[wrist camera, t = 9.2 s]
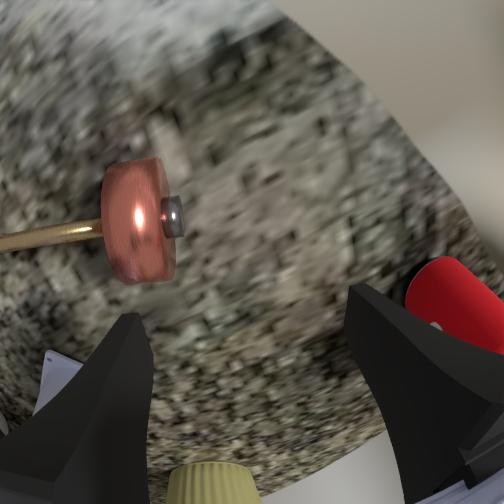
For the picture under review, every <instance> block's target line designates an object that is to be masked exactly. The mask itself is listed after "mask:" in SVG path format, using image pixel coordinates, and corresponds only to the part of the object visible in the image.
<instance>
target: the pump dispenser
mask: <svg viewBox="0 0 504 504" xmlns="http://www.w3.org/2000/svg"><path fill="white" fill-rule="evenodd" d="M8 433H9V432H8V426H7V422H6V420H5V418H4V416H3V414H2V412H1V411H0V438H2V437H4V436H5V435H7V434H8Z"/></svg>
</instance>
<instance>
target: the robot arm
mask: <svg viewBox="0 0 504 504" xmlns="http://www.w3.org/2000/svg"><path fill="white" fill-rule="evenodd" d="M343 331H344V334H345V336H346V339H347V342H348V345H349V348H350V350H351V353H352V355H353V357H354V359H355V361H356V363H357V365H358V367H359V369H360V371H361V372H362V374H363V376H364V378H365V380H366V382H367V384H368V386H369V388H370V390H371V392H372V394H373V396H374V398H375V400H376V402H377V404H378V406H379V408H380V411H381V414H382V416H383V419H384V422H385V425H386V428H387V430H388V434H389V437H390V440H391V443H392V446H393V450H394V453H395V457H396V461H397V465H398V469H399V473H400V478H401V483H402V489H403V494H404V501H405V504H504V355H503V354H499V353H496V352H492V351H489V350H486V349H483V348H480V347H478V346H475V345H472V344H470V343H467V342H465V341H463V340H460V339H458V338H456V337H454V336H452V335H450V334H448V333H445V332H443V331H441V330H440V329H438V328H436V327H434V326H432V325H430V324H429V323H427V322H425V321H424V320H422V319H420V318H418V317H417V316H415V315H414V314H412V313H410V312H409V311H407V310H406V309H404V308H403V307H401V306H400V305H398V304H397V303H395V302H393V301H392V300H390V299H389V298H387V297H386V296H384V295H383V294H381V293H380V292H378V291H377V290H375V289H374V288H372V287H371V286H369V285H367V284H365V283H364V284H358V285H351V286H349V292H348V300H347V307H346V314H345V321H344V328H343ZM152 387H153V352H152V350H151V347H150V344H149V341H148V338H147V336H146V333H145V330H144V327H143V324H142V321H141V318H140V315H139V313H127V314H122V315H121V316H120V317H119V319H118V320H117V321H116V323H115V324H114V325H113V327H112V328H111V329H110V331H109V332H108V333H107V335H106V336H105V337H104V339H103V340H102V342H101V343H100V344H99V345H98V347H97V348H96V349H95V351H94V352H93V353H92V355H91V356H90V357H89V358H88V360H87V361H86V362H85V363H84V364H82V363H80V362H77V361H75V360H73V359H70V358H68V357H66V356H64V355H61V354H59V353H57V352H55V351H53V350H47V351H46V353H45V358H44V364H43V371H42V378H41V385H40V393H39V397H38V400H37V403H36V406H35V409H34V412H33V415H32V417H31V418H29V419H28V420H27V421H25V422H24V423H23V424H21V425H20V426H19V427H17V428H16V429H14V430H13V431H11V432H10V433H8V434H7V435H5V436H4V437H2V438H0V504H150V500H149V491H148V478H147V458H146V440H147V428H148V419H149V411H150V403H151V395H152Z"/></svg>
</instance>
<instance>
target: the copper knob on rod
mask: <svg viewBox="0 0 504 504" xmlns="http://www.w3.org/2000/svg"><path fill="white" fill-rule="evenodd" d="M100 237H104V241H105V246H106V250H107V254H108V257H109V260H110V263H111V265H112V268H113V270H114V272H115V274H116V276H117V277H118V279H119V280H120V281H121V282H122V283H123V284H125V285H133V284H143V283H152V282H161V281H170V280H173V278H174V274H175V265H176V249H175V238H177V237H184V219H183V210H182V204H181V199H180V196H171V197H170V192H169V186H168V181H167V177H166V173H165V169H164V166H163V163H162V161H161V159H160V158H159V157H151V158H145V159H139V160H133V161H127V162H121V163H116V164H112V165H110V166H109V168H108V169H107V171H106V174H105V176H104V180H103V185H102V193H101V217H99V218H93V219H86V220H80V221H75V222H69V223H63V224H58V225H52V226H47V227H41V228H36V229H31V230H26V231H21V232H16V233H11V234H6V235H1V236H0V253H5V252H11V251H17V250H23V249H29V248H35V247H41V246H47V245H53V244H60V243H66V242H73V241H79V240H86V239H93V238H100Z"/></svg>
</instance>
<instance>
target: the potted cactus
mask: <svg viewBox="0 0 504 504" xmlns="http://www.w3.org/2000/svg"><path fill="white" fill-rule="evenodd" d="M165 504H262V503H261V500H260V497H259V494H258V491H257V489H256V486H255V483H254V480H253V477H252V475H251V472H250V471H249V469H247V468H246V467H244V466H242V465H238V464H234V463H229V462H197V463H190V464H186V465H182V466H179V467H177V468H175V469H174V470H173V471H172V472H171V473H170V477H169V483H168V490H167V496H166V503H165Z"/></svg>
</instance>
